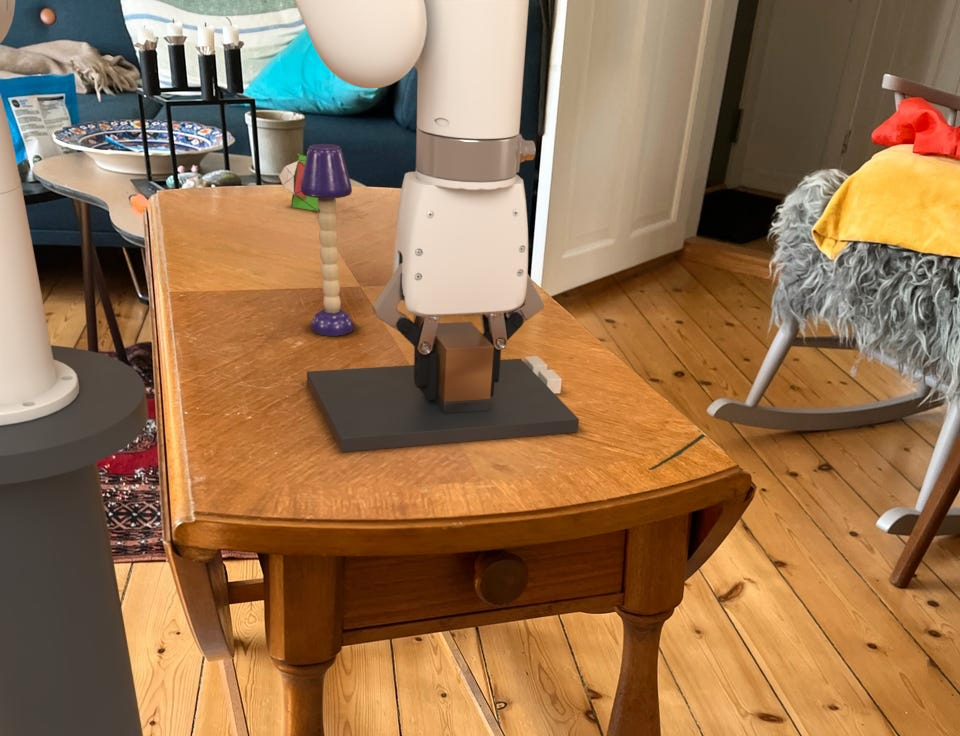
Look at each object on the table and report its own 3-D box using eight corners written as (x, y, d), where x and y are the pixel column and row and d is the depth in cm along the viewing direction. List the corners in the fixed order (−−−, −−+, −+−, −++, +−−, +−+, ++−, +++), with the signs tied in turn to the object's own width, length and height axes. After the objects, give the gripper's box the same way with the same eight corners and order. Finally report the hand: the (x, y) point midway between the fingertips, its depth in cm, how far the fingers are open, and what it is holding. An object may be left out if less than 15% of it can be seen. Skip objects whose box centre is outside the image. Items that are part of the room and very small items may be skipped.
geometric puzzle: (305, 180, 145) (285, 135, 138) (349, 187, 143) (331, 142, 136) (286, 221, 143) (265, 178, 136) (330, 228, 141) (310, 185, 134)
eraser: (443, 414, 84) (446, 348, 81) (423, 386, 89) (425, 323, 86) (489, 410, 85) (494, 346, 82) (467, 383, 90) (470, 321, 87)
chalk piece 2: (547, 379, 91) (562, 378, 92) (538, 369, 93) (552, 369, 94) (546, 394, 92) (560, 393, 93) (537, 384, 94) (551, 383, 94)
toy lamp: (298, 331, 101) (291, 147, 92) (317, 317, 105) (311, 138, 96) (344, 339, 101) (341, 153, 91) (361, 324, 104) (360, 144, 95)
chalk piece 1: (533, 365, 94) (547, 364, 95) (524, 356, 96) (537, 355, 96) (531, 380, 95) (546, 379, 95) (522, 370, 97) (536, 370, 97)
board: (341, 452, 80) (340, 438, 79) (307, 384, 91) (306, 371, 90) (577, 432, 86) (579, 419, 85) (519, 370, 97) (520, 358, 96)
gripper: (553, 147, 82) (533, 370, 92) (343, 147, 77) (348, 382, 87) (590, 168, 76) (564, 402, 87) (367, 169, 71) (368, 418, 82)
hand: (456, 390), depth 87 cm, fingers open, 4 cm apart
